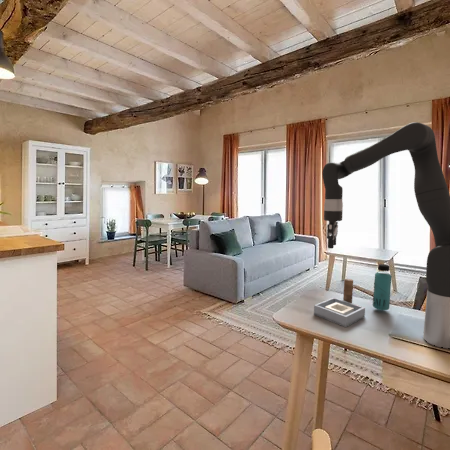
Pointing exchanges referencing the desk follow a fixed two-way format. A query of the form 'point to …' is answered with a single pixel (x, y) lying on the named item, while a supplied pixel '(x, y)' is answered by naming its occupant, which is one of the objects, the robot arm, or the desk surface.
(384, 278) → the beverage bottle
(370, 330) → the desk surface
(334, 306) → the box
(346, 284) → the peg
